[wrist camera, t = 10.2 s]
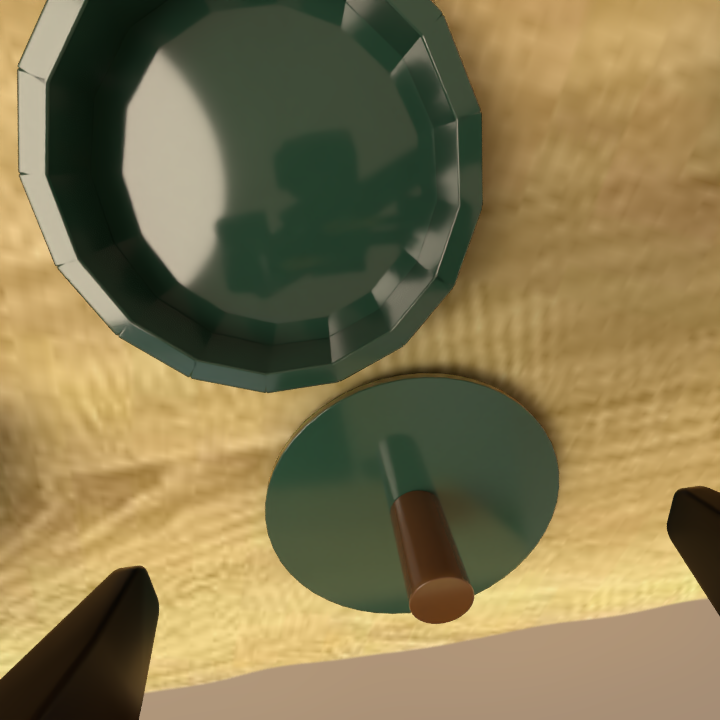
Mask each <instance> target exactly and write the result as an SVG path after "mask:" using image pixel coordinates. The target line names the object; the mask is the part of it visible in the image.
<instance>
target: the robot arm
mask: <svg viewBox="0 0 720 720" xmlns="http://www.w3.org/2000/svg"><path fill="white" fill-rule="evenodd" d="M667 531H668V534H669V537H670V539H671V541H672V543H673V544H674V546H675V547H676V549H677V550H678V552H679V553H680V555H681V557H682V558H683V560H684V561H685V563H686V564H687V566H688V567H689V569H690V571H691V572H692V574H693V575H694V577H695V578H696V580H697V581H698V583H699V585H700V586H701V588H702V589H703V591H704V592H705V594H706V595H707V597H708V599H709V600H710V602H711V603H712V605H713V606H714V608H715V610H716V611H717V613H718V614H719V616H720V492H717V491H715V490H712V489H710V488H707V487H704V486H695V487H688V488H681V489H679V490H677V491H676V492H675V494H674V497H673V501H672V505H671V509H670V513H669V517H668V521H667ZM158 616H159V602H158V598H157V595H156V593H155V590H154V588H153V585H152V583H151V580H150V577H149V575H148V572H147V570H146V569H145V568H144V567H143V566H132V567H125V568H119V569H117V570H115V571H114V572H112V573H111V574H110V575H109V576H108V577H107V578H106V579H105V580H104V581H103V582H102V583H101V584H100V585H99V586H97V587H96V588H95V589H94V590H93V591H92V592H91V593H90V594H89V595H88V596H87V597H86V598H85V599H84V600H83V601H82V602H81V603H80V604H79V605H78V606H77V607H76V608H75V609H73V610H72V611H71V612H70V613H69V614H68V615H67V616H66V617H65V618H64V619H63V620H62V621H61V622H60V623H59V624H58V625H57V626H56V627H55V628H54V629H53V630H52V631H51V632H49V633H48V634H47V635H46V636H45V637H44V638H43V639H42V640H41V641H40V642H39V643H38V644H37V645H36V646H35V647H34V648H33V649H32V650H31V651H30V652H29V653H28V654H27V655H25V656H24V657H23V658H22V659H21V660H20V661H19V662H18V663H17V664H16V665H15V666H14V667H13V668H12V669H11V670H10V671H9V672H8V673H7V674H6V675H5V676H4V677H3V678H1V679H0V720H139V716H140V711H141V706H142V701H143V696H144V691H145V685H146V680H147V675H148V669H149V664H150V659H151V653H152V648H153V643H154V637H155V632H156V627H157V621H158Z"/></svg>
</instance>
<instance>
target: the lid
mask: <svg viewBox="0 0 720 720" xmlns="http://www.w3.org/2000/svg"><path fill="white" fill-rule="evenodd" d="M558 491H559V469H558V463H557V458H556V454H555V451H554V449H553V446H552V443H551V441H550V439H549V437H548V436H547V434H546V432H545V430H544V429H543V427H542V426H541V425H540V423H539V422H538V421H537V420H536V419H535V417H534V416H533V415H532V414H531V413H530V412H529V411H528V410H527V409H526V408H525V407H524V406H523V405H522V404H521V403H519V402H518V401H517V400H516V399H514V398H513V397H511V396H510V395H508V394H506V393H505V392H503V391H502V390H500V389H498V388H495V387H493V386H491V385H489V384H486V383H484V382H481V381H478V380H474V379H471V378H467V377H463V376H457V375H450V374H442V373H417V374H407V375H399V376H394V377H390V378H385V379H380V380H377V381H374V382H371V383H368V384H365V385H362V386H360V387H357V388H355V389H353V390H351V391H349V392H347V393H345V394H343V395H341V396H339V397H337V398H336V399H334V400H333V401H331V402H329V403H328V404H326V405H325V406H323V407H322V408H320V409H319V410H318V411H317V412H316V413H314V414H313V415H312V416H311V417H309V418H308V419H307V420H306V421H305V422H304V423H303V424H302V425H301V426H300V427H299V428H298V429H297V431H296V432H295V433H294V434H293V435H292V436H291V438H290V439H289V441H288V442H287V443H286V445H285V446H284V448H283V449H282V451H281V453H280V455H279V457H278V459H277V461H276V463H275V465H274V467H273V470H272V473H271V476H270V479H269V482H268V488H267V495H266V502H265V520H266V525H267V531H268V535H269V538H270V541H271V543H272V546H273V549H274V551H275V552H276V554H277V556H278V558H279V559H280V561H281V563H282V564H283V565H284V566H285V568H286V569H287V570H288V571H289V573H290V574H291V575H292V576H293V577H294V578H295V579H296V580H298V581H299V582H300V583H301V584H302V585H303V586H305V587H306V588H308V589H309V590H310V591H312V592H313V593H315V594H317V595H319V596H321V597H323V598H324V599H326V600H328V601H331V602H334V603H336V604H339V605H341V606H344V607H348V608H352V609H356V610H360V611H367V612H373V613H388V614H397V613H412V614H413V615H414V616H415V617H416V618H417V619H419V620H420V621H423V622H426V623H431V624H440V623H446V622H450V621H453V620H455V619H457V618H459V617H461V616H462V615H463V614H465V613H466V612H467V611H468V610H469V608H470V607H471V605H472V603H473V601H474V595H476V594H478V593H480V592H481V591H483V590H485V589H487V588H489V587H491V586H492V585H494V584H495V583H497V582H498V581H500V580H501V579H503V578H504V577H505V576H506V575H508V574H509V573H510V572H511V571H513V570H514V569H515V568H516V567H517V566H518V565H519V564H520V563H521V562H522V561H523V560H524V559H525V558H526V557H527V556H528V555H529V554H530V553H531V551H532V550H533V549H534V548H535V546H536V545H537V544H538V542H539V541H540V539H541V538H542V536H543V534H544V533H545V531H546V529H547V527H548V525H549V523H550V521H551V519H552V516H553V513H554V510H555V506H556V503H557V498H558Z"/></svg>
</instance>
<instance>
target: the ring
mask: <svg viewBox="0 0 720 720" xmlns="http://www.w3.org/2000/svg"><path fill="white" fill-rule="evenodd" d="M18 67H19V68H18V70H17V101H18V171H19V173H20V174H19V177H20V180H21V182H22V184H23V187H24V189H25V192H26V194H27V197H28V199H29V202H30V204H31V207H32V209H33V212H34V214H35V217H36V219H37V222H38V224H39V227H40V229H41V232H42V234H43V237H44V239H45V241H46V244H47V246H48V249H49V251H50V254H51V256H52V259H53V261H54V264H55V266H58V267H57V268H58V270H59V271H60V272H61V273H62V274H63V275H64V277H65V278H66V279H67V280H68V281H69V282H70V283H71V285H72V286H73V287H74V288H75V289H76V290H77V291H78V293H79V294H80V295H81V296H82V297H83V298H84V299H85V300H86V302H87V303H88V304H89V305H90V306H91V307H92V308H93V310H94V311H95V312H96V313H97V314H98V315H99V316H100V318H101V319H102V320H103V321H104V322H105V323H106V324H107V325H108V327H109V328H110V329H111V330H112V331H113V332H114V333H115V334H116V335H119V337H120V338H121V339H123V340H125V341H126V342H128V343H130V344H132V345H133V346H135V347H137V348H138V349H140V350H142V351H144V352H145V353H147V354H149V355H151V356H152V357H154V358H156V359H158V360H159V361H161V362H163V363H165V364H166V365H168V366H170V367H171V368H173V369H175V370H177V371H178V372H180V373H182V374H184V375H185V376H187V377H191V378H192V379H196V380H201V381H206V382H211V383H216V384H222V385H227V386H232V387H237V388H242V389H247V390H253V391H258V392H263V393H266V392H267V393H271V392H277V391H284V390H290V389H297V388H303V387H310V386H316V385H323V384H329V383H336V382H339V381H342V380H344V379H346V378H348V377H349V376H351V375H353V374H355V373H356V372H358V371H360V370H362V369H364V368H365V367H367V366H369V365H371V364H373V363H374V362H376V361H378V360H380V359H382V358H383V357H385V356H387V355H389V354H391V353H392V352H394V351H396V350H398V349H399V348H401V347H403V345H405V344H406V343H407V342H408V341H409V340H410V338H411V337H412V336H413V335H414V334H415V332H416V331H417V330H418V329H419V328H420V327H421V325H422V324H423V323H424V322H425V321H426V319H427V318H428V317H429V316H430V315H431V314H432V312H433V311H434V310H435V309H436V308H437V306H438V305H439V304H440V303H441V302H442V300H443V299H444V298H445V297H446V296H447V295H448V293H449V292H450V291H451V290H452V289H453V286H454V285H455V283H456V280H457V277H458V275H459V272H460V269H461V266H462V263H463V261H464V258H465V255H466V252H467V249H468V247H469V244H470V241H471V238H472V235H473V233H474V230H475V227H476V224H477V221H478V219H479V216H480V213H481V210H482V206H483V179H482V113H481V112H480V111H481V109H480V107H479V104H478V101H477V99H476V96H475V94H474V91H473V89H472V86H471V83H470V81H469V78H468V76H467V73H466V70H465V68H464V65H463V63H462V60H461V58H460V55H459V52H458V50H457V47H456V45H455V42H454V40H453V37H452V34H451V32H450V29H449V27H448V24H447V22H446V19H445V17H444V15H442V11H441V10H440V9H439V8H438V7H437V6H436V5H435V4H434V3H433V2H432V1H431V0H47V1H46V3H45V5H44V7H43V10H42V12H41V14H40V16H39V19H38V21H37V23H36V25H35V27H34V30H33V32H32V34H31V36H30V39H29V41H28V43H27V45H26V48H25V50H24V52H23V54H22V57H21V59H20V61H19V63H18Z"/></svg>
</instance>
